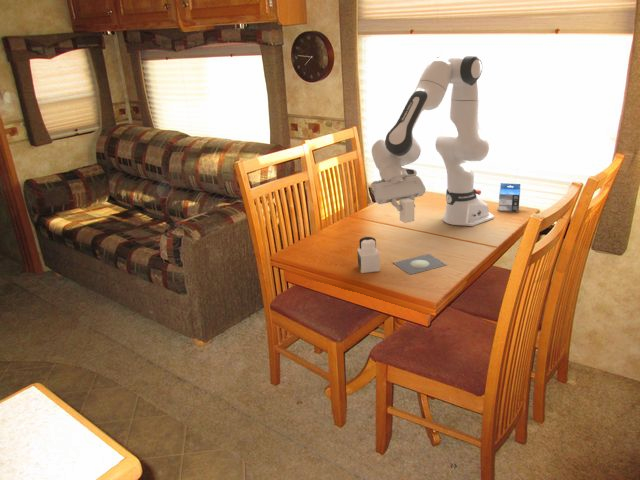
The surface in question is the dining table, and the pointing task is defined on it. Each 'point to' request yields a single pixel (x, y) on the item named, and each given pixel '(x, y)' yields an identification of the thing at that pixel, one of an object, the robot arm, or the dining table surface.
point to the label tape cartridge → (509, 197)
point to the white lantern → (368, 255)
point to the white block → (407, 210)
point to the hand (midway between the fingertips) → (406, 208)
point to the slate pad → (419, 264)
